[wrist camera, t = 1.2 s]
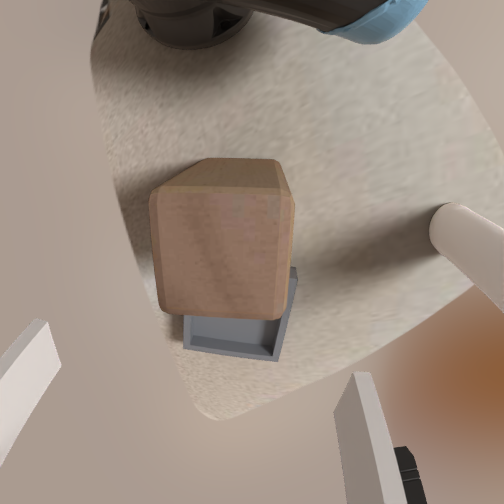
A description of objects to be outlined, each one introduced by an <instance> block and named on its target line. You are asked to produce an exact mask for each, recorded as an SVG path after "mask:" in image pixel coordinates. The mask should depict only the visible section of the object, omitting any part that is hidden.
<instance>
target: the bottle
mask: <svg viewBox="0 0 504 504" xmlns="http://www.w3.org/2000/svg"><path fill="white" fill-rule="evenodd" d="M429 237H430V241H431V243H432V244H433V246H434V247H435V248H436V249H437V250H438V252H439V253H440V254H442V255H443V256H444V257H446V258H447V259H448V260H449V261H450V262H452V263H453V264H454V265H455V266H456V267H457V268H458V269H459V270H460V271H461V272H463V273H464V274H465V275H466V276H467V277H468V278H469V279H470V280H471V281H472V282H473V283H474V284H475V285H476V286H477V287H478V288H479V289H480V290H481V291H482V292H483V293H484V294H485V295H487V297H488V298H489V299H490V300H491V301H493V303H494V304H495V305H496V306H497V307H498V308H499V309H500V310H501V311H502V312H503V313H504V229H503V228H501V227H499V226H498V225H496V224H494V223H493V222H491V221H489V220H487V219H486V218H484V217H482V216H480V215H479V214H477V213H475V212H473V211H471V210H470V209H469V208H467V207H465V206H462V205H460V204H457V203H453V202H452V203H447V204H444V205H443V206H442V207H440V208H439V209H438V210H437V211H436V212H435V214H434V215H433V217H432V220H431V222H430V226H429Z"/></svg>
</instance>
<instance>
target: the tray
mask: <svg viewBox="0 0 504 504" xmlns="http://www.w3.org/2000/svg"><path fill="white" fill-rule="evenodd" d="M297 281H298V278H297V272H296V267H290V274H289V285H288V295H287V306H286V309H285V311H284V312H283V314H282V316H281V318H279V319H275V320H255V319H235V318H218V317H203V316H190V315H184V333H183V349H188V350H194V351H200V352H206V353H213V354H219V355H226V356H233V357H240V358H248V359H256V360H265V361H274V362H278V359H279V356H280V352H281V348H282V344H283V340H284V336H285V332H286V328H287V324H288V319H289V315H290V311H291V307H292V303H293V298H294V294H295V290H296V285H297Z"/></svg>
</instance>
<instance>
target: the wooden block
mask: <svg viewBox="0 0 504 504" xmlns="http://www.w3.org/2000/svg"><path fill="white" fill-rule="evenodd" d="M148 204H149V218H150V231H151V242H152V252H153V262H154V271H155V279H156V287H157V295H158V302H159V306H160V308H161V310H162V311H164V312H166V313H168V314H178V315H190V316H203V317H218V318H235V319H255V320H275V319H279V318H281V316H282V314H283V312H284V311H285V309H286V306H287V295H288V285H289V274H290V263H291V251H292V238H293V225H294V212H295V203H294V200H293V197H292V194H291V192H290V189H289V186H288V184H287V181H286V178H285V176H284V173H283V170H282V168H281V165H280V163H279V162H278V161H276V160H273V159H245V158H206V159H204V160H202V161H200V162H198V163H196V164H195V165H193V166H191V167H190V168H188V169H186V170H184V171H183V172H181V173H179V174H178V175H176V176H174V177H173V178H171V179H169V180H168V181H166V182H165V183H163V184H161V185H160V186H158V187H156V188H155V189H153V190H152V191H151V194H150V197H149V200H148Z"/></svg>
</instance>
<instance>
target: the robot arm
mask: <svg viewBox="0 0 504 504" xmlns="http://www.w3.org/2000/svg"><path fill="white" fill-rule="evenodd" d="M129 1H130V2H132V3H133V4H134V5H135V8H136V13H137V17H138V20H139V22H140V24H141V26H142V27H143V29H144V30H145V31H146V32H147V33H148V34H149V35H150V36H151V37H153V38H154V39H156V40H157V41H159V42H160V43H162V44H164V45H166V46H169V47H172V48H177V49H185V50H193V49H202V48H206V47H210V46H213V45H216V44H219V43H221V42H223V41H225V40H227V39H229V38H230V37H232V36H233V35H235V34H236V33H237V32H238V31H239V30H241V29H242V28H243V27H244V25H245V24H246V23H247V22H248V20H249V19H250V17H251V16H252V14H253V11H258V12H262V13H266V14H270V15H274V16H278V17H281V18H285V19H288V20H292V21H295V22H298V23H302V24H305V25H308V26H311V27H314V28H316V29H317V30H318V31H319V32H321V33H323V34H329V35H336V36H339V37H342V38H345V39H348V40H350V41H353V42H356V43H359V44H379V43H382V42H384V41H387V40H389V39H390V38H392V37H394V36H395V35H397V34H398V33H400V32H401V31H402V30H403V29H404V28H405V27H407V26H408V25H409V24H410V23H411V22H412V21H413V19H414V18H415V17H416V16H417V15H418V14H419V13H420V11H421V10H422V9H423V8H424V6H425V5H426V3H427V2H428V0H129ZM61 366H62V365H61V363H60V360H59V357H58V354H57V351H56V348H55V345H54V341H53V338H52V335H51V332H50V328H49V325H48V322H47V321H43V320H40V319H37V318H35V319H34V320H33V321H32V322H31V323H30V324H29V326H28V327H27V328H26V329H25V330H24V331H23V332H22V333H21V334H20V336H19V337H18V338H17V339H16V340H15V341H14V342H13V344H12V345H11V346H10V347H9V348H8V349H7V351H6V352H5V353H4V354H3V355H2V357H1V358H0V467H1V465H2V463H3V461H4V460H5V458H6V456H7V454H8V452H9V450H10V448H11V447H12V445H13V443H14V441H15V439H16V438H17V436H18V434H19V433H20V431H21V429H22V428H23V426H24V424H25V422H26V421H27V419H28V417H29V416H30V414H31V412H32V411H33V409H34V408H35V406H36V404H37V403H38V401H39V400H40V398H41V396H42V395H43V393H44V392H45V390H46V389H47V387H48V385H49V384H50V382H51V381H52V379H53V378H54V376H55V375H56V373H57V372H58V370H59V369H60V367H61ZM334 418H335V424H336V430H337V436H338V442H339V449H340V455H341V462H342V469H343V476H344V483H345V491H346V498H347V504H427V502H426V497H425V494H424V490H423V486H422V483H421V480H420V479H419V478H420V476H419V472H418V470H417V465H416V462H415V459H414V456H413V455H412V453H411V452H410V451H409V450H408V448H407V447H406V446H404V447H396V448H393V445H392V442H391V438H390V435H389V432H388V428H387V424H386V421H385V418H384V414H383V411H382V408H381V405H380V401H379V398H378V395H377V392H376V389H375V386H374V382H373V380H372V376H371V373H370V372H353V373H352V376H351V378H350V380H349V382H348V384H347V386H346V388H345V390H344V392H343V394H342V396H341V399H340V401H339V402H338V404H337V406H336V409H335V411H334Z"/></svg>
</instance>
